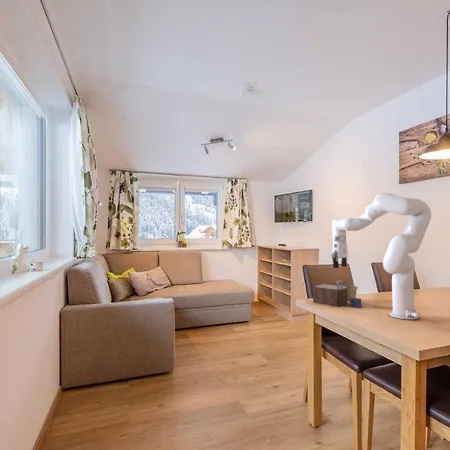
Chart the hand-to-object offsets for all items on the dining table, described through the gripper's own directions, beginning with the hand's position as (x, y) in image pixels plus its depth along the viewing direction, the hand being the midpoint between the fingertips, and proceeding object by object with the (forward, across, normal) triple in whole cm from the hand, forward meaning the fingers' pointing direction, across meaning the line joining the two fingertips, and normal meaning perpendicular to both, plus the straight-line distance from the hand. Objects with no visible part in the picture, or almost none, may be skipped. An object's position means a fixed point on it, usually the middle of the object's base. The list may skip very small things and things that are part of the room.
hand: (340, 267), depth 184 cm
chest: (+22, -3, +5) cm, 23 cm away
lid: (+13, -3, +5) cm, 14 cm away
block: (+22, -1, -10) cm, 24 cm away
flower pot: (+22, +12, +1) cm, 25 cm away
